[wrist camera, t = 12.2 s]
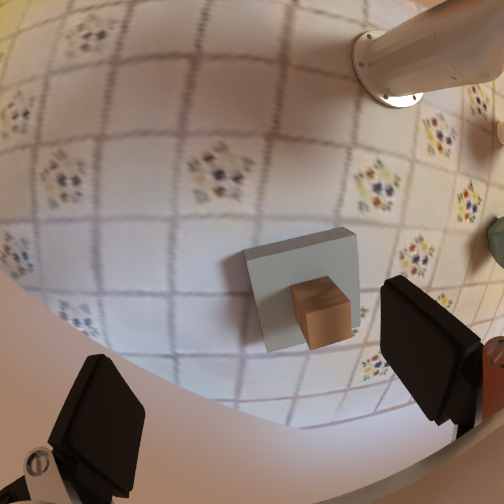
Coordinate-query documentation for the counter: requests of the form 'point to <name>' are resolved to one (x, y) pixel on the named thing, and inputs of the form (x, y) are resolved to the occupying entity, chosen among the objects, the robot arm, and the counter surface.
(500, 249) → the flower pot
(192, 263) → the counter surface
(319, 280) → the walnut block
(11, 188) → the counter surface
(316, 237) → the pedestal
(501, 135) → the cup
